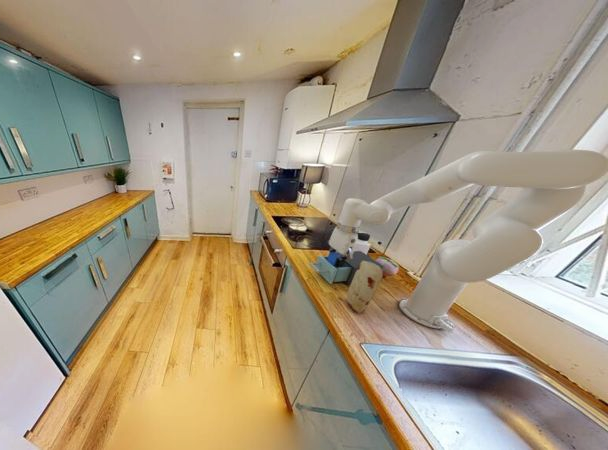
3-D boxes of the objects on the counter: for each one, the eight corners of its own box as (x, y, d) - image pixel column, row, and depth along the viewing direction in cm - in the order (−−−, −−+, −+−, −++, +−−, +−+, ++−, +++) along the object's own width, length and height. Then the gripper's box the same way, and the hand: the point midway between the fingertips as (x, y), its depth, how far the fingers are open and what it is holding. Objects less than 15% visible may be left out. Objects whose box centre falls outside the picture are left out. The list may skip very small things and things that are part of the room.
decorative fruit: (397, 277, 95) (406, 260, 91) (389, 283, 91) (398, 265, 87) (374, 267, 103) (382, 250, 98) (366, 271, 99) (374, 254, 95)
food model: (340, 296, 83) (356, 256, 75) (357, 298, 82) (376, 258, 74) (350, 314, 74) (369, 272, 66) (370, 318, 73) (392, 275, 65)
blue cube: (342, 265, 90) (345, 257, 88) (333, 266, 89) (336, 258, 87) (335, 260, 94) (338, 252, 92) (326, 260, 93) (329, 252, 91)
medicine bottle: (366, 255, 113) (374, 237, 108) (352, 253, 114) (360, 235, 109) (360, 249, 119) (367, 231, 114) (347, 247, 120) (354, 230, 115)
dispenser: (347, 285, 89) (354, 267, 85) (328, 268, 101) (334, 252, 97) (375, 283, 91) (383, 266, 87) (354, 266, 103) (360, 251, 99)
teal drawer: (318, 284, 88) (322, 270, 85) (303, 268, 98) (307, 255, 95) (356, 281, 90) (362, 268, 87) (338, 266, 100) (343, 253, 97)
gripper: (372, 236, 77) (356, 274, 84) (340, 219, 92) (329, 252, 99) (354, 237, 76) (340, 275, 83) (326, 219, 91) (315, 253, 99)
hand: (334, 262), depth 91 cm, fingers closed on blue cube, 4 cm apart
